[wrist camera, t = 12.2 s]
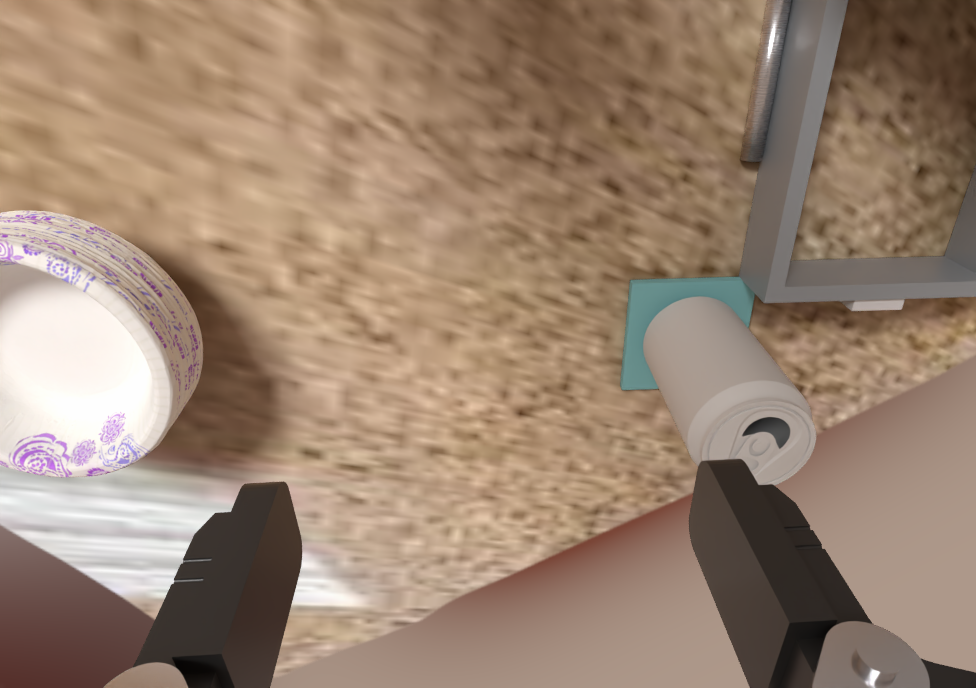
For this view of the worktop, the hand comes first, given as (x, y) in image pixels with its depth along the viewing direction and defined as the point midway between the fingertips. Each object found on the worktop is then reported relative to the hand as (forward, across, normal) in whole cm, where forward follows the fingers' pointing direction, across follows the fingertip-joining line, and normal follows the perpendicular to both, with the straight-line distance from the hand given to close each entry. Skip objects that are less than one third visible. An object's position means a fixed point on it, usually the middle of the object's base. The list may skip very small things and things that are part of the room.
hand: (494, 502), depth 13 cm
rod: (+27, -17, -4) cm, 32 cm away
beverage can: (+27, -14, +12) cm, 33 cm away
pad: (+27, -14, +12) cm, 33 cm away
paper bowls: (+28, +24, +9) cm, 38 cm away
